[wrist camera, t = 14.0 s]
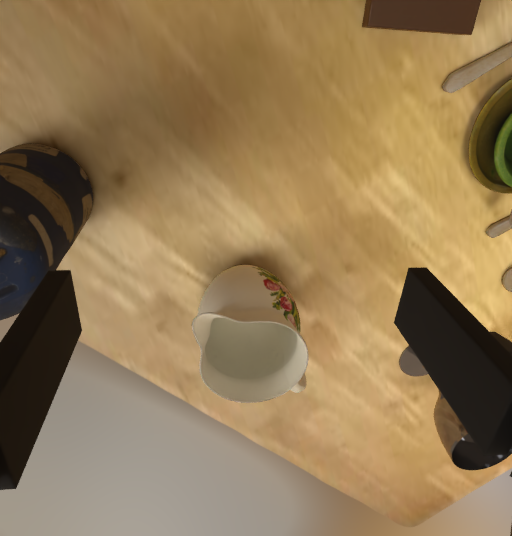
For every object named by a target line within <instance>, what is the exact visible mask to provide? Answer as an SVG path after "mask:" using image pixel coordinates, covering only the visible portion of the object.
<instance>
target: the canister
mask: <svg viewBox="0 0 512 536" xmlns="http://www.w3.org/2000/svg"><path fill="white" fill-rule="evenodd" d="M92 206H93V192H92V187H91V184H90V181H89V179H88V177H87V175H86V173H85V172H84V171H83V169H82V168H81V167H80V166H79V165H78V164H77V163H76V162H75V161H74V160H73V159H72V158H71V157H69V156H68V155H67V154H65V153H63V152H61V151H59V150H57V149H55V148H52V147H49V146H45V145H40V144H22V145H18V146H15V147H12V148H10V149H8V150H6V151H4V152H2V153H0V320H3V319H6V318H9V317H11V316H14V315H16V314H18V313H20V312H21V311H22V309H23V308H24V307H25V305H26V304H27V302H28V301H29V299H30V298H31V296H32V295H33V293H34V292H35V290H36V289H37V287H38V286H39V284H40V283H41V281H42V280H43V278H44V277H45V275H46V274H47V272H48V271H55V270H56V269H57V267H58V266H59V264H60V262H61V261H62V259H63V257H64V256H65V254H66V253H67V252H68V250H69V249H70V247H71V246H72V244H73V242H74V241H75V239H76V238H77V236H78V234H79V233H80V231H81V229H82V228H83V226H84V225H85V223H86V221H87V220H88V218H89V216H90V213H91V210H92Z"/></svg>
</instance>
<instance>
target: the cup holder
mask: <svg viewBox="0 0 512 536" xmlns="http://www.w3.org/2000/svg"><path fill="white" fill-rule="evenodd" d="M480 2H481V0H366V6H365V13H364V19H363V25H362V27H368V28H381V29H393V30H406V31H419V32H432V33H445V34H458V35H471V34H472V31H473V28H474V24H475V21H476V17H477V13H478V10H479V6H480Z"/></svg>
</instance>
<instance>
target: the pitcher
mask: <svg viewBox="0 0 512 536" xmlns="http://www.w3.org/2000/svg"><path fill="white" fill-rule="evenodd" d="M192 330H193V334H194V336H195V339H196V341H197V343H198V344H199V346H200V349H201V358H200V374H201V377H202V380H203V381H204V383H205V384H206V385H207V387H208V388H209V389H210V390H212V391H213V392H214V393H216V394H217V395H219V396H221V397H223V398H225V399H228V400H231V401H235V402H241V403H256V402H263V401H267V400H270V399H273V398H276V397H278V396H280V395H282V394H284V393H286V392H287V391H289V390H292V391H293V392H296V393H299V392H301V391H303V390H304V389H305V387H306V377H305V371H306V368H307V365H308V349H307V346H306V344H305V341H304V340H303V338H302V336H301V335H300V318H299V313H298V309H297V307H296V304H295V301H294V299H293V297H292V296H291V294H290V292H289V291H288V289H287V288H286V287H285V285H284V284H283V283H282V282H281V281H280V280H279V279H278V278H277V277H276V276H274V275H273V274H272V273H270V272H269V271H267V270H265V269H263V268H260V267H257V266H253V265H238V266H234V267H231V268H229V269H227V270H225V271H223V272H222V273H220V274H219V275H218V276H216V277H215V279H214V280H213V281H212V282H211V283H210V285H209V286H208V288H207V289H206V291H205V293H204V295H203V297H202V299H201V302H200V305H199V309H198V315H197V316H196V317H195V318H194V319H193V323H192Z"/></svg>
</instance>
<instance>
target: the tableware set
mask: <svg viewBox="0 0 512 536" xmlns="http://www.w3.org/2000/svg"><path fill="white" fill-rule="evenodd" d="M511 57H512V43H510V44H508V45H506V46H504V47H502V48H500V49H498V50H496V51H494V52H492V53H490V54H488V55H486V56H484V57H482V58H480V59H478V60H476V61H474V62H472V63H470V64H468V65H466V66H464V67H462V68H460V69H458V70H456V71H455V72H453V73H451V74H450V75H449V76H448V78H447V79H446V81H445V82H444V84H443V89H444V91H446V92H449V93H452V92H455V91H457V90H459V89H461V88H462V87H464V86H465V85H467V84H469V83H470V82H472V81H473V80H475V79H477V78H478V77H480V76H481V75H483V74H484V73H486V72H488V71H489V70H491V69H493V68H494V67H496V66H498V65H499V64H501V63H503V62H504V61H506V60H507V59H509V58H511ZM469 161H470V165H471V169H472V171H473V173H474V175H475V177H476V178H477V179H478V181H479V182H480V183H481V184H482V185H484V186H485V187H487V188H488V189H490V190H493V191H496V192H500V193H512V79H510V80H509V81H508V82H506V83H505V84H504V85H503V86H502V87H500V88H499V89H498V90H497V91H496V92H495V93H494V94H493V95H492V97H491V98H490V99H489V100H488V101H487V103H486V104H485V105H484V107H483V109H482V110H481V112H480V113H479V115H478V117H477V119H476V121H475V124H474V126H473V129H472V133H471V136H470V142H469ZM510 229H512V211H511V214H510V216H509V217H507V218H505V219H503V220H501V221H499V222H497V223H495V224H493V225H491V226H490V227H489V228H488V229H487V231H486V233H487V235H488V236H489V237H491V238H494V237H497V236H499V235H501V234H503V233H504V232H506V231H508V230H510ZM502 284H503V286H504V287H505V288H506V289H507V290H508V291H510V292H512V268H510V269H509V270H508V271H507V272H506V273H505V275H504V277H503V279H502Z"/></svg>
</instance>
